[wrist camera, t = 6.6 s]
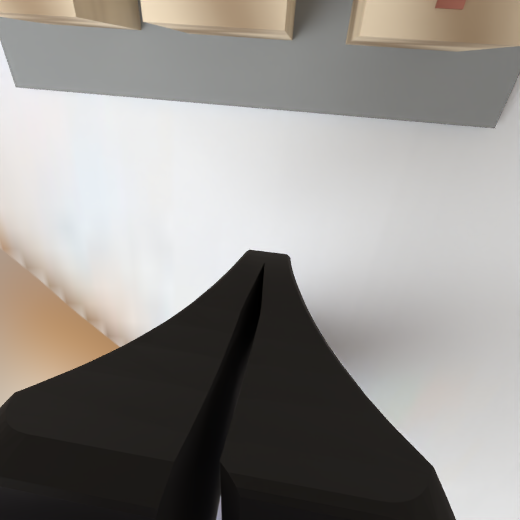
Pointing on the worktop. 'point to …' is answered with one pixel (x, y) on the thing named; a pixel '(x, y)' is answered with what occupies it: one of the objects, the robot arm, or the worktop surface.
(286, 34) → the plain block
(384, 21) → the block one
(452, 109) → the slate mat
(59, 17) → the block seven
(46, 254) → the worktop surface
